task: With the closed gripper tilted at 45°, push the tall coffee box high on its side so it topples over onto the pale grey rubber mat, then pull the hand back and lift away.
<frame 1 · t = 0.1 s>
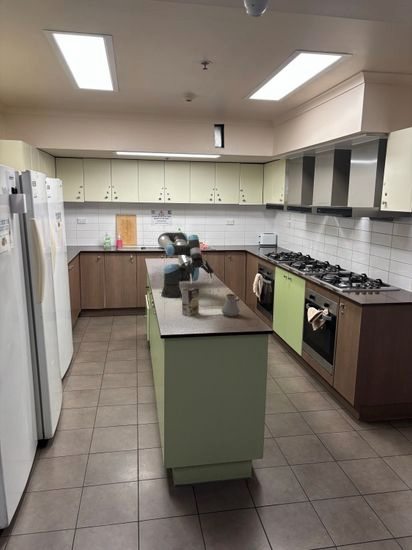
hand: (201, 282, 272), 15 cm above the countertop, tool tilted 35°, fingers open, 13 cm apart
coffee pot: (232, 317, 246), on the countertop, touching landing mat
coffee box: (190, 313, 251), on the countertop, touching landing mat
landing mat: (211, 312, 255), on the countertop
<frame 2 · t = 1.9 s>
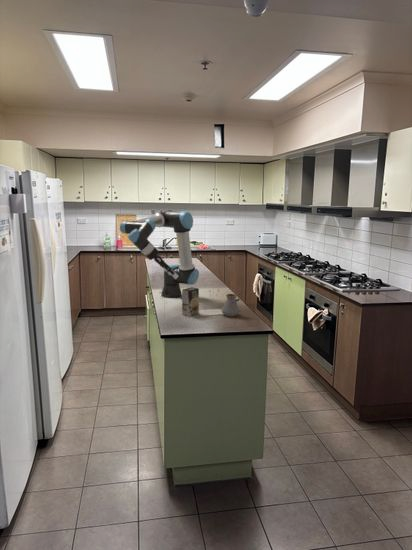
hand: (174, 275, 243), 25 cm above the countertop, tool tilted 45°, fingers open, 12 cm apart
nothing on the countertop moved.
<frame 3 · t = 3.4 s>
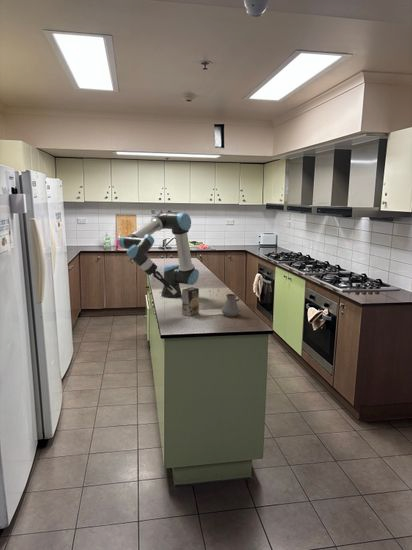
hand: (175, 292, 245), 14 cm above the countertop, tool tilted 45°, fingers closed
nothing on the countertop moved.
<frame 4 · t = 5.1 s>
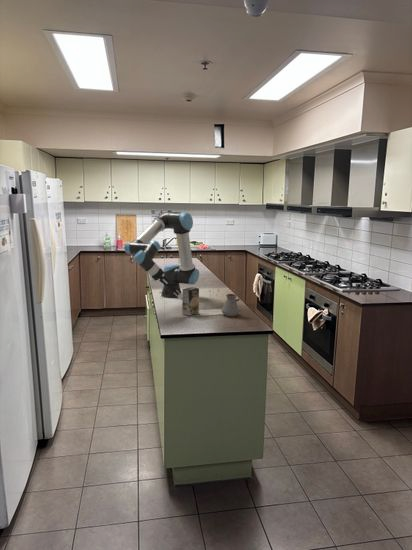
hand: (181, 297, 246), 11 cm above the countertop, tool tilted 45°, fingers closed
coffee box: (190, 313, 251), on the countertop, touching gripper, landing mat
everything else where it was.
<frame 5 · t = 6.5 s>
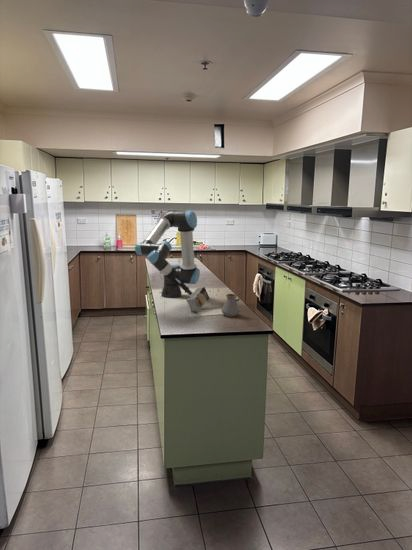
hand: (193, 297, 249), 11 cm above the countertop, tool tilted 45°, fingers closed
coffee box: (192, 305, 253), point 5 cm above the countertop
everything else where it was.
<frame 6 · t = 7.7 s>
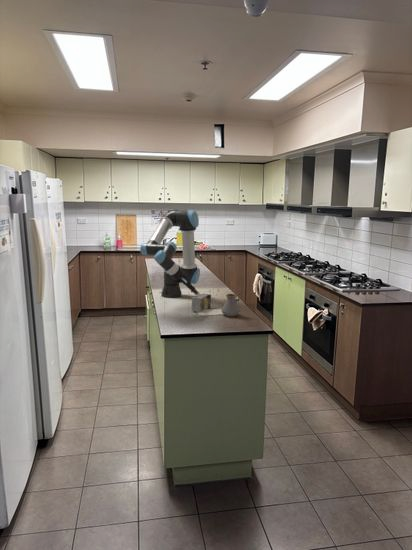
hand: (200, 296, 251), 11 cm above the countertop, tool tilted 45°, fingers closed
coffee box: (195, 304, 254), point 5 cm above the countertop, touching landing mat
everything else where it was.
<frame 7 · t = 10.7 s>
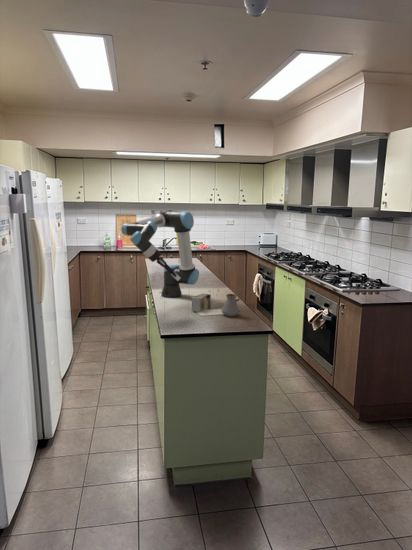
hand: (179, 279, 244), 23 cm above the countertop, tool tilted 45°, fingers closed
nothing on the countertop moved.
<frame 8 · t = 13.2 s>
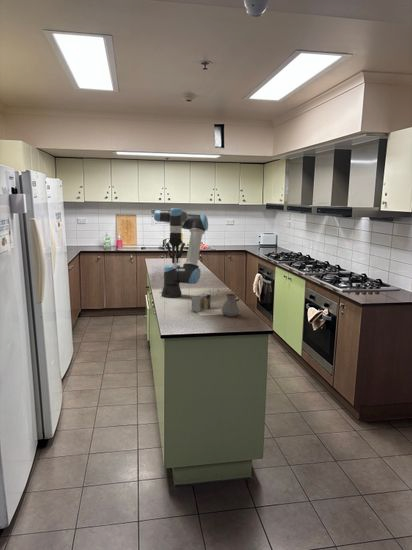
hand: (175, 268, 261), 26 cm above the countertop, tool pointing down, fingers closed
nothing on the countertop moved.
at the end: coffee box tilted 91°; coffee box touching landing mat, countertop; coffee box inside the target area (4.7 cm from its centre), point 5.0 cm above the countertop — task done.
